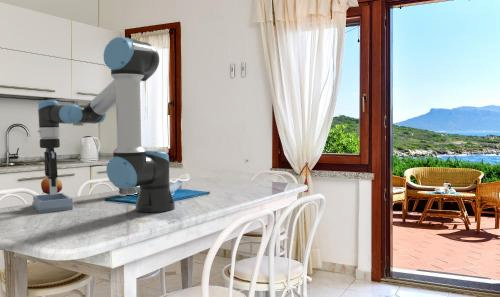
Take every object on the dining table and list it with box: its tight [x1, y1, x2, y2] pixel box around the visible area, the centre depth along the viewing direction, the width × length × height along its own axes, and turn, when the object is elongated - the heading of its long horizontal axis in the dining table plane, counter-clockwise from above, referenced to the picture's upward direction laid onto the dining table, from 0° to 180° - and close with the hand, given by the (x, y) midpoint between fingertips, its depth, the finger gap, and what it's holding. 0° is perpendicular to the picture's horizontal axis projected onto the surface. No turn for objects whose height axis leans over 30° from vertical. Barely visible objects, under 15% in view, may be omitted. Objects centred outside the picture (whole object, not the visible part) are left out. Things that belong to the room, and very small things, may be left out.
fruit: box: [40, 176, 63, 195], centre depth 183 cm, size 8×8×8 cm
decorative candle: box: [118, 187, 138, 197], centre depth 213 cm, size 9×9×25 cm
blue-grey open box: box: [32, 192, 74, 214], centre depth 184 cm, size 12×22×4 cm, turn 33°
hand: (51, 193), depth 183 cm, fingers closed on fruit, 8 cm apart
